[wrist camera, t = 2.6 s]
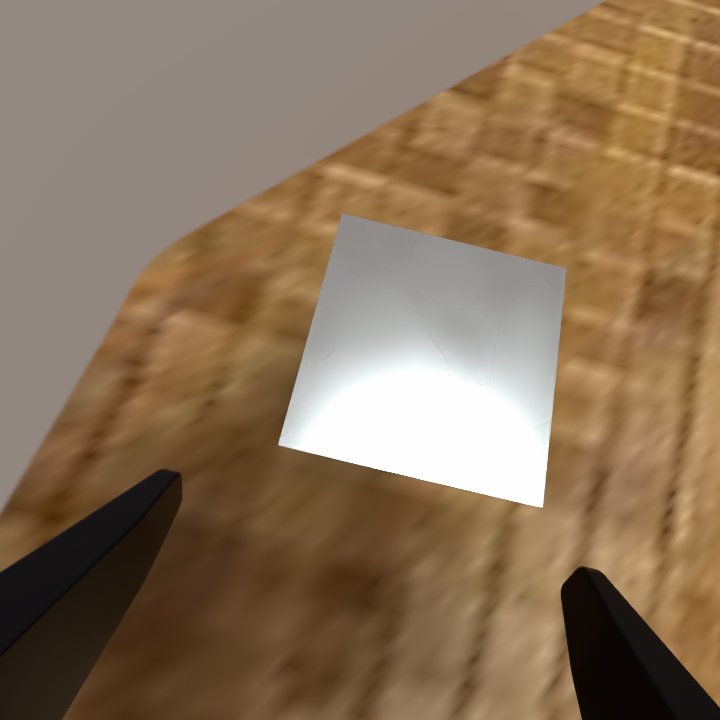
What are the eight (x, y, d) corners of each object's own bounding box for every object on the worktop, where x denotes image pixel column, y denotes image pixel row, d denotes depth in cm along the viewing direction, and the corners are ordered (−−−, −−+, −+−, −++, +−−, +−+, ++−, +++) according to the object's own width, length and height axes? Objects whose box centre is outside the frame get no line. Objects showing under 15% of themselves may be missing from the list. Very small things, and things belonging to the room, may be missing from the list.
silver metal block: (403, 473, 19) (542, 507, 7) (312, 452, 19) (277, 445, 6) (420, 384, 20) (566, 268, 8) (335, 364, 20) (342, 213, 8)
